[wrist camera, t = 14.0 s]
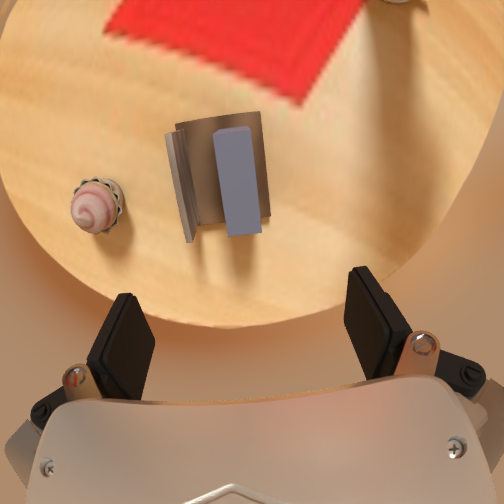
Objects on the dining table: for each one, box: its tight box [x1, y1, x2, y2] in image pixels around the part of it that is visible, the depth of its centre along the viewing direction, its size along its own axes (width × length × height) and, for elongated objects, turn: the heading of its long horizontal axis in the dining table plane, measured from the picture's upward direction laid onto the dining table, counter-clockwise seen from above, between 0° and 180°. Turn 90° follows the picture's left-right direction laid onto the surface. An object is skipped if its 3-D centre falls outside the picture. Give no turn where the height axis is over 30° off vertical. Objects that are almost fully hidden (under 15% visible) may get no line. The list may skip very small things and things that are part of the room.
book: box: [213, 126, 262, 237], centre depth 34 cm, size 4×12×10 cm, turn 6°
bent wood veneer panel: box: [165, 111, 271, 243], centre depth 36 cm, size 12×16×10 cm
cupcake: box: [71, 177, 123, 235], centre depth 36 cm, size 9×9×10 cm
